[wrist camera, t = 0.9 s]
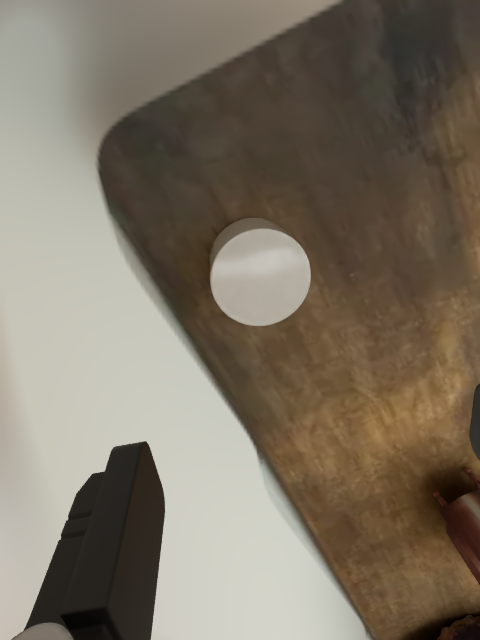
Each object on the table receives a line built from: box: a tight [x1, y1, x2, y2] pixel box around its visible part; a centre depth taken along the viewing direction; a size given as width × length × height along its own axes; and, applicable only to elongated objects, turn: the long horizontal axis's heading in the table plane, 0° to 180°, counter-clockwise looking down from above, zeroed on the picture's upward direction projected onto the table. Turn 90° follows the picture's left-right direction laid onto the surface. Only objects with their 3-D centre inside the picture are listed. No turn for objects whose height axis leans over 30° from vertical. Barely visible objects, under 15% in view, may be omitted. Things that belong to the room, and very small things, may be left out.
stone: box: [209, 218, 311, 326], centre depth 19 cm, size 5×5×3 cm
